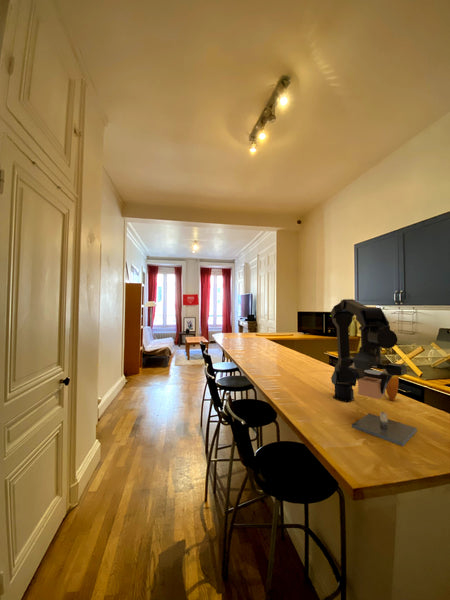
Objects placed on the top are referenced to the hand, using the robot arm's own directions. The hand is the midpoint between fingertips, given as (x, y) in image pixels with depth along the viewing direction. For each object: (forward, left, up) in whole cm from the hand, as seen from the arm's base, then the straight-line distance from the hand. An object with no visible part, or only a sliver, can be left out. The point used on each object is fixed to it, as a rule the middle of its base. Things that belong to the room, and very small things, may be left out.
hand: (371, 391), depth 82 cm
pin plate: (+3, 0, -11) cm, 12 cm away
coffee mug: (-13, +34, -12) cm, 38 cm away
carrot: (-4, +31, -12) cm, 34 cm away
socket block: (0, 0, -1) cm, 1 cm away
